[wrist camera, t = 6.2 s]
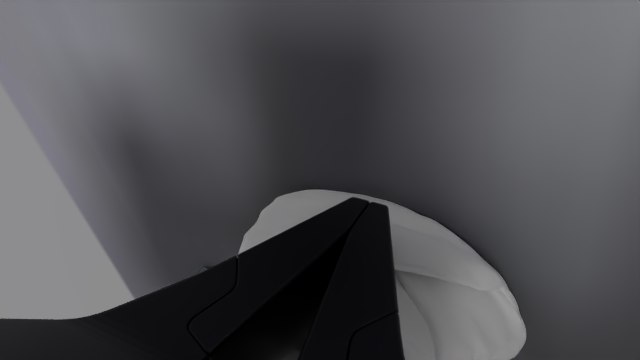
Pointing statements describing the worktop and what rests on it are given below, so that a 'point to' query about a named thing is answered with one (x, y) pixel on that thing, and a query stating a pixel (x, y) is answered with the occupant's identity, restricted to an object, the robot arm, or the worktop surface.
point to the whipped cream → (424, 281)
